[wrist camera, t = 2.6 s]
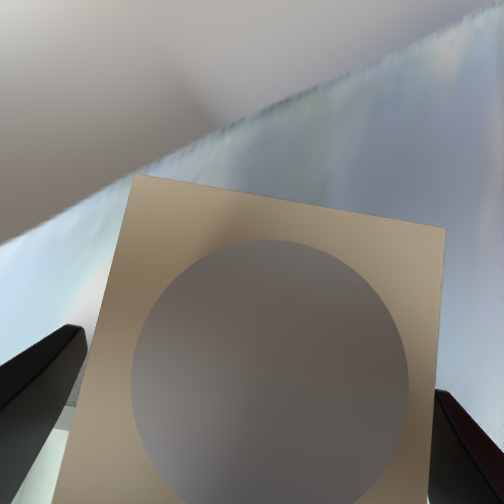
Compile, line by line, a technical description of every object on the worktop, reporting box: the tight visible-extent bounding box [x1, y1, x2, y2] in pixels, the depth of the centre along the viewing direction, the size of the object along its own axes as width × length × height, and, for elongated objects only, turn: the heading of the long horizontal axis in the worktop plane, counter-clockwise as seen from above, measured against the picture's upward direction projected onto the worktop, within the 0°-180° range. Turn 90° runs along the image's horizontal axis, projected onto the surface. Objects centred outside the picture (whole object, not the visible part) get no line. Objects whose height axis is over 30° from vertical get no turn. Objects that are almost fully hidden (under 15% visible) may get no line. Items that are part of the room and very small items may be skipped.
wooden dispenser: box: [51, 174, 446, 504], centre depth 11 cm, size 6×6×12 cm
